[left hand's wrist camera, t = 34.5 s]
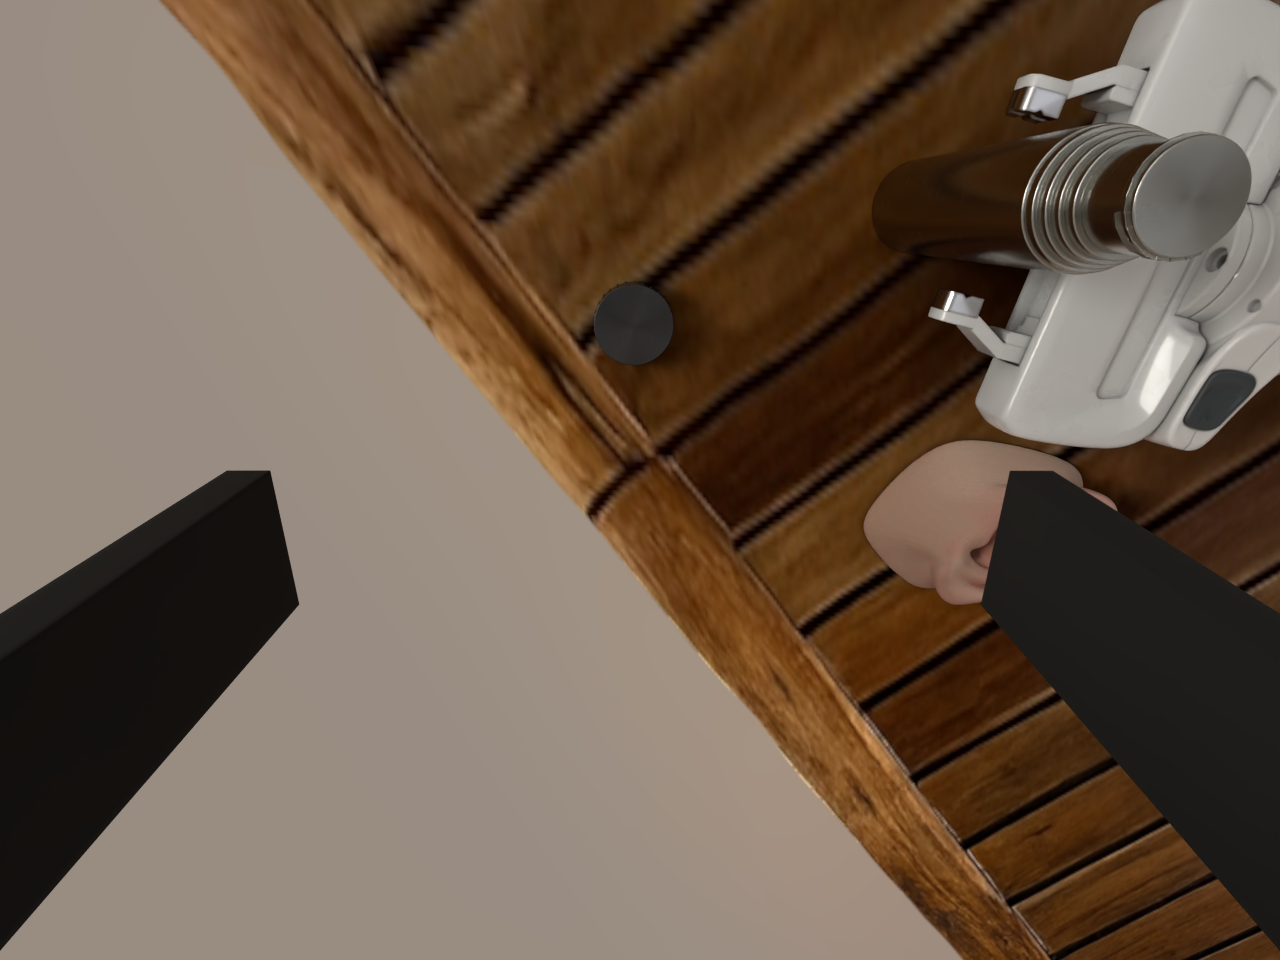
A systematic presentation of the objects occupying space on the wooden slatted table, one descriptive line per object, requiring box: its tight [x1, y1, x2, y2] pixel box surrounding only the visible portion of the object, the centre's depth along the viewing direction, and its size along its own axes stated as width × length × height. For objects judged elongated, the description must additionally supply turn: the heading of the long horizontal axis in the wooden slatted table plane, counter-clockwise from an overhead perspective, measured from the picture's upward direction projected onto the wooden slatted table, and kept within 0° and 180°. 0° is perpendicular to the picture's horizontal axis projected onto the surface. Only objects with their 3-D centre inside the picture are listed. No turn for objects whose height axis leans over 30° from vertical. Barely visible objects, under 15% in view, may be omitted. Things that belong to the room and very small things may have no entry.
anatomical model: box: [864, 440, 1117, 605], centre depth 43 cm, size 13×4×12 cm
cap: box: [593, 281, 674, 365], centre depth 39 cm, size 5×5×2 cm
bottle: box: [872, 122, 1252, 275], centre depth 29 cm, size 5×5×20 cm
